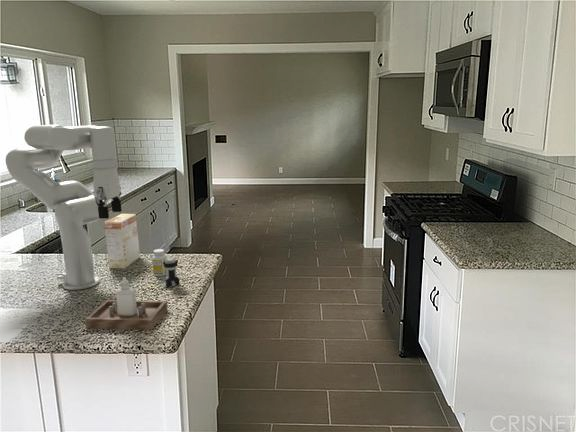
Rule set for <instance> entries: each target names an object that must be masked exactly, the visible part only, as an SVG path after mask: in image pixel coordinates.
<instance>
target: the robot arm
mask: <svg viewBox="0 0 576 432" xmlns="http://www.w3.org/2000/svg"><path fill="white" fill-rule="evenodd" d="M24 141H25V143H26V144H27V145H28V146H25V147H23V146H22V147H18V148H15V149H12V150H9V152H8V153H7V154H6V156H5V165H6V168H7V171H8V173H9V174H10V176H11V177H12V179H14V181H15V182H17V183H18V184H19V185H21V186H22V187H24V188H25V189H27V190H28V191H29V192H31V193H32V195H34V196H35V198H37V199H38V200H39V201H40V202H41V203H42V204H43V205H44V206H45V207H47V208H49V209H50V210H54V218H55V220H56V223H57V227H58V230H59V234H60V240H61V247H62V254H63V262H64V269H65V272H58V273H57V277H56V279H57V280H63V282H62V288H63V289H64V290H65V289H66V290H69V291H77V290H85V289H89V288H91V287H94V286H96V285H98V284H99V283H100V277H99V276H97V275H95V268H94V261H93V260H94V259H93V251H92V243H91V238H90V234H89V233H88V231H87V229H86V228H85V227H84V226H83V225H87V224H90V223H94V222H97V221H100V220H101V219H103V220H105V219H108V220H109V218H110V214H109V206H108V201H109V200H111V201H110V202H111V212H113V213H121V212H123V210H122V201H121V200H122V196H121V195H122V192H121V191H122V187H121V184H120V178H119V173H118V169H119V166H118V164H119V163H118V157H117V146H116V145H117V144H116V136H115V130H114V128H113V127H112V126H106V125H105V126H98V125H74V126H63V125H61V124H43V125H41V124H40V125H33V126H30V127H29V128H27V129H26V131H25V132H24ZM86 149H87V150H89V149H91V154H92V165H93V178H92V179H93V191H92V190H90V188H88V187H87V186H86V185H85V184H84V183H82V182H80V181H79V180H65V181H55V180H54V179H53V178H52V177H50V175H48V174H47V173H45V172H43V171H40V170H38V169H47V168H52V167H54V166H55V165H56V164H57V163H58V162H59V159H60V157H61V156H62V155H63V153H64V151H78V150H86Z"/></svg>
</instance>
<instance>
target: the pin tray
mask: <svg viewBox="0 0 576 432" xmlns="http://www.w3.org/2000/svg"><path fill="white" fill-rule="evenodd" d="M167 302H168V301H167V300H163V301H162V300H136V305H137V313H136V314H135V315H133V316H121V315H119V314H118V309H117V299H112V300H111V299H106V300H104V301H103V303H102V304H100V305H99V306H98V307H97V308H96V309H94V311H92V312H91V313H89V314H88V316H87V317H86V318H84V319H85V322H84V323H85V329H102V330H106V329H107V330H139V331H140V330H144V331H146V330H147V331H152V330H153V329H154V328H155V326H157V323H159V322H160V320H161V318H162V317H163V316H164V315H165V314H166V312H167V311H168V303H167Z"/></svg>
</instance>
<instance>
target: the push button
mask: <svg viewBox="0 0 576 432" xmlns="http://www.w3.org/2000/svg"><path fill="white" fill-rule="evenodd" d="M178 263H179V260H177V259H176V258H175V257H166V259H165V261H164V262H163V264H164V267H166V275H165V276H166V277H165V279H164V282H163V283H160V284H161V287H167V288H171V287H176V286H179V285H180V278H179V277H178V275H177V266H178Z"/></svg>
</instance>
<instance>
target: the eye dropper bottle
mask: <svg viewBox="0 0 576 432" xmlns="http://www.w3.org/2000/svg"><path fill="white" fill-rule="evenodd" d="M119 283H120V284H119V285H120V288H119V289H117V290H116V292H115V297H116V299H115V300H117V309H118V314H119V315H121V316H133V315H135V314H136V313H137V305H136V301H137V298H136V291H135V289H133V288H131V287H130V282H129V280H127V278H126V277H125V276H123V277H122V280H121V281H120V282H119Z"/></svg>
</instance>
